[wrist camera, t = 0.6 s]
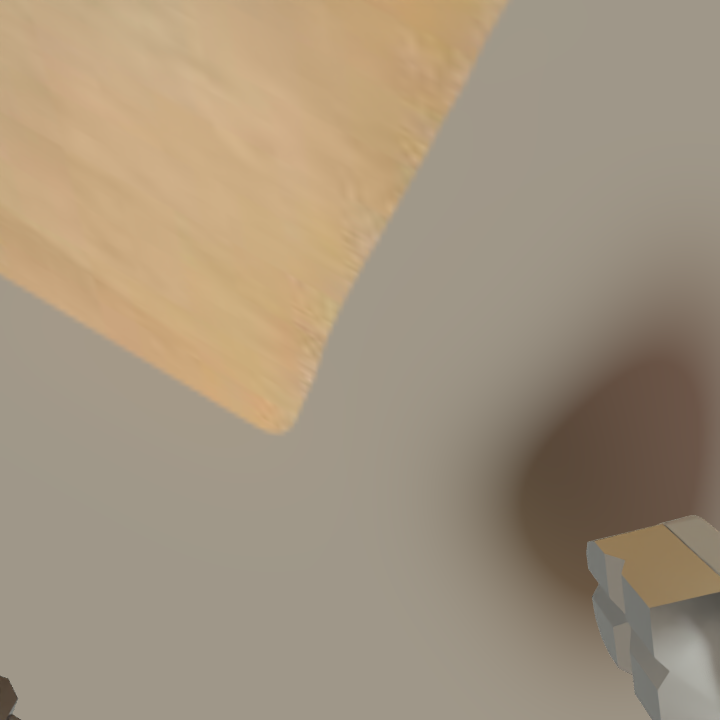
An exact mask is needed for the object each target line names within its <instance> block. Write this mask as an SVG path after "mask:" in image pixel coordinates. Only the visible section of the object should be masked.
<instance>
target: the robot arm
mask: <svg viewBox="0 0 720 720" xmlns="http://www.w3.org/2000/svg"><path fill="white" fill-rule="evenodd" d="M587 560H588V568H589V570H590V572H591V573H592V574H593V576H594V577H595V578H596V580H597V581H598V583H599V585H598V587H597V589H596V591H595V592H594V594H593V596H592V599H593V606H594V612H595V617H596V621H597V624H598V627H599V630H600V634H601V637H602V640H603V642H604V644H605V646H606V648H607V650H608V652H609V654H610V656H611V657H612V659H613V660H614V662H615V663H616V665H617V666H618V668H619V669H621V670H623V671H625V672H627V673H629V674H631V675H633V682H634V690H635V695H636V696H637V698H638V699H639V701H640V702H641V703H642V705H643V707H644V708H645V710H646V711H647V713H648V714H649V716H650V717H651V719H652V720H720V532H719V531H717V530H716V529H715V528H714V527H712V526H711V525H710V524H709V523H708V522H706V521H705V520H704V519H703V518H701V517H698V516H694V515H691V516H687V517H683V518H680V519H676V520H672V521H668V522H665V523H661V524H658V525H656V526H652V527H648V528H644V529H640V530H636V531H631V532H628V533H623V534H619V535H615V536H611V537H607V538H603V539H598V540H595V541H590V542H588V543H587ZM17 700H18V697H17V695H16V693H15V691H14V689H13V687H12V685H11V683H10V681H9V679H8V678H5V677H2V676H0V720H21V719H19V718H18V717H16V716H15V715H13V711H14V708H15V705H16V703H17Z"/></svg>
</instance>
